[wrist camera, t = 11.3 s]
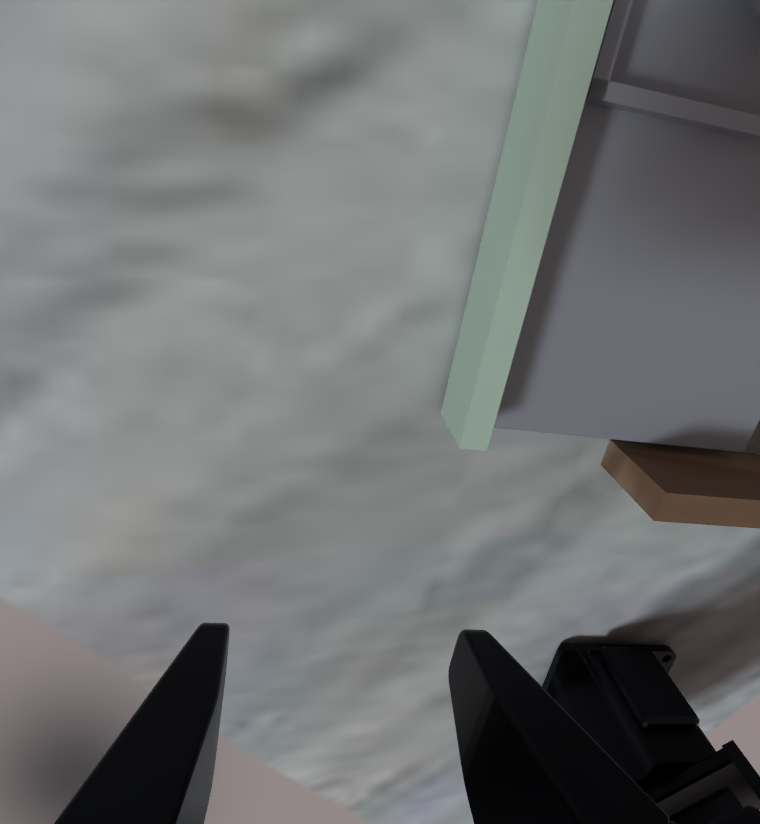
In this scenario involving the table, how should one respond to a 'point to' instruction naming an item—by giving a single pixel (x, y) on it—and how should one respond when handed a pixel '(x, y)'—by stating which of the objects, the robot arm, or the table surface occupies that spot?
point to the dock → (688, 483)
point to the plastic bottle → (755, 6)
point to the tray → (622, 234)
